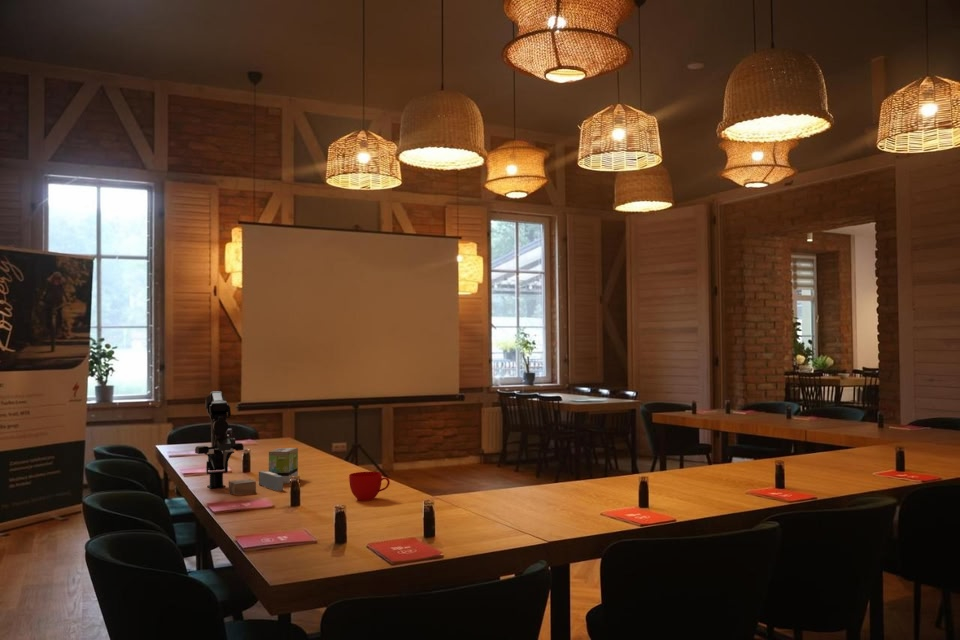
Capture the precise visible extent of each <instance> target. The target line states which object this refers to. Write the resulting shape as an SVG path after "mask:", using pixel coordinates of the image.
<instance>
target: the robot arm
mask: <svg viewBox="0 0 960 640" xmlns="http://www.w3.org/2000/svg"><path fill="white" fill-rule="evenodd" d="M205 410H206V413H207V415H208V417H209V418H210V434H211V435H210V439H211V441H210V443H211V445H210V446H208V445H198V446H196V447H195V449H194V454H198V455H203V454H204V455H206V456H207V460H206V465H205V470H206V473H205V474H206V475H209V485H207V488H209V489H218V488H225V487H227V486H226V485H225V484H224V474H227V473H228V471H229V468H228V467H229V459H230V457H231V456H232V455H233V454H234V453H235V451H237V452H238V451H244V449H245V448H244V443H242V442H236V438H235V437H230V438H228V437H229V436H228V433H227V432H228V430H229V423H228V422H227V419H230V417H232V412H231V406H230V404H229V403H228V402H227V400H226V396H225V395H223V392H222V391H220V390H219V391H217V390H216V391H211V392H210V393H209V395H208V396H206V398H205ZM234 450H235V451H234Z"/></svg>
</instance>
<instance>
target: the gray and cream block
mask: <svg viewBox="0 0 960 640" xmlns="http://www.w3.org/2000/svg"><path fill="white" fill-rule="evenodd" d="M261 485H262V487H264V486H265V488H267V489H270V490H273V491H275V492H281V491H284V484H283V476H280V475H278V474H275V473H272V472H269V471H266V470H259V471H258V486H261Z"/></svg>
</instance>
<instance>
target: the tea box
mask: <svg viewBox="0 0 960 640" xmlns="http://www.w3.org/2000/svg"><path fill="white" fill-rule="evenodd" d="M298 449H299V448H298V447H277V448H275V449H273V450H269V451H268V472H272V473H275V474H278V475H280V476H283V483H284V484H290V483H291V482H290V479H291V477H292V476H298V477H299V475H298V474H299V473H298V472H299V470H298V469H299V450H298Z"/></svg>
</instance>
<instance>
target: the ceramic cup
mask: <svg viewBox="0 0 960 640" xmlns="http://www.w3.org/2000/svg"><path fill="white" fill-rule="evenodd" d="M348 479H349V480H348V481H349V487H350V491H351V494H353V496H354V497H355V499H356V500H357V501H361V502H367V501H373V500H374V499H375V498H376V497H377V496H378V494H379V493H380V492H382V491H385V490H386V489H388V487H389V486H390V485H391V484H390V483H391V482H390V479H389V478H388V477H387V476H386V477H383V474H382V472H380V471H358V472H352V473H350V474H349V476H348ZM383 480H386V483H387V484H386V486H384V487H383V488H381V487H382V481H383Z"/></svg>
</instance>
